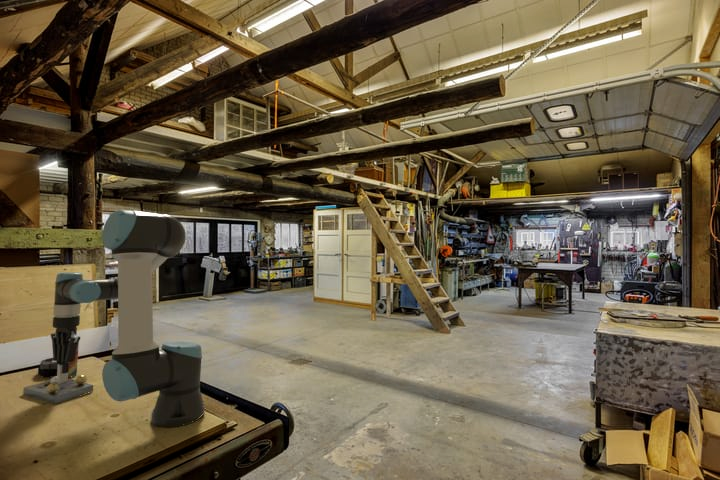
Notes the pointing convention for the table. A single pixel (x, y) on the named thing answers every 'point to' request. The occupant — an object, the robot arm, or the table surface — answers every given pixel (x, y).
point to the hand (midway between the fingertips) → (62, 381)
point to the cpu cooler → (48, 368)
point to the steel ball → (54, 380)
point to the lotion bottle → (73, 365)
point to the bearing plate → (62, 394)
